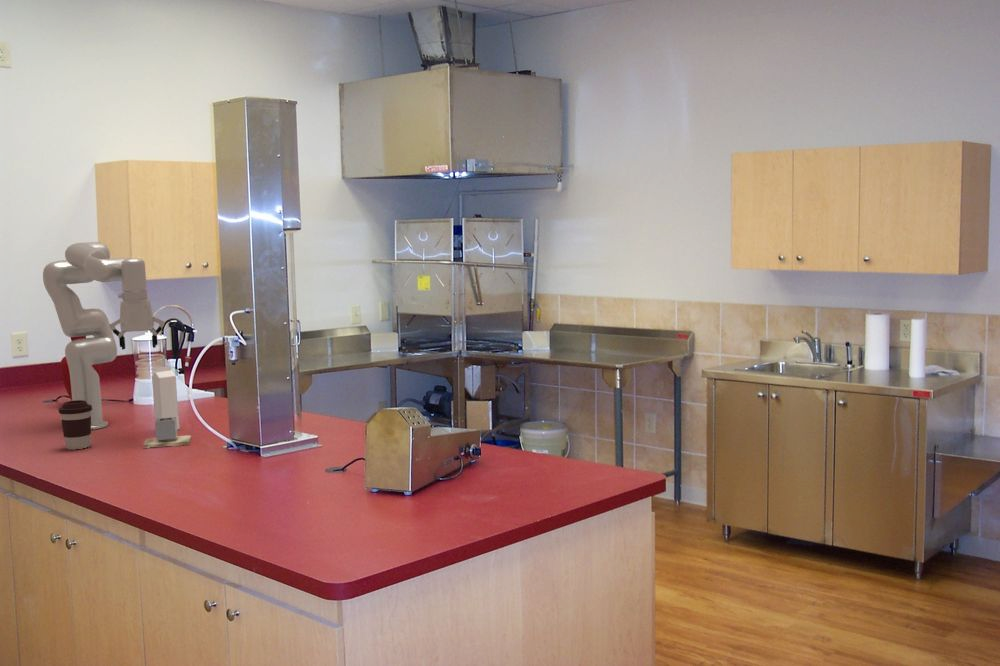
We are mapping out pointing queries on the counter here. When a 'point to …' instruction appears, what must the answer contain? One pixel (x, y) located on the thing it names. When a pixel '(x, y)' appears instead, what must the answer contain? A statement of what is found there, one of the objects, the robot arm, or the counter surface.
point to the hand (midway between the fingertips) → (139, 348)
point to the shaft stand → (167, 441)
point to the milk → (165, 393)
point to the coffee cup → (76, 424)
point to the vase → (66, 372)
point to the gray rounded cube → (166, 428)
